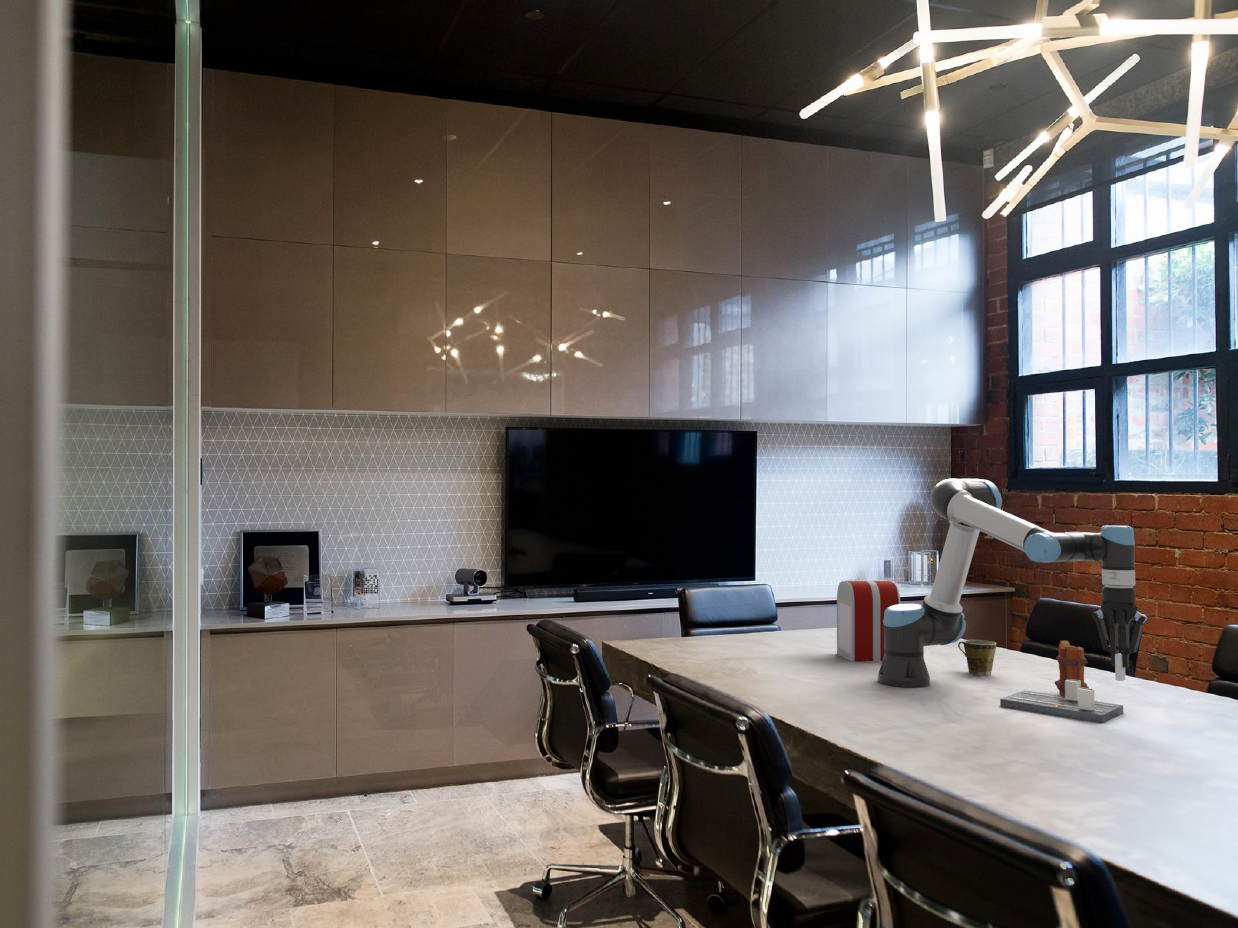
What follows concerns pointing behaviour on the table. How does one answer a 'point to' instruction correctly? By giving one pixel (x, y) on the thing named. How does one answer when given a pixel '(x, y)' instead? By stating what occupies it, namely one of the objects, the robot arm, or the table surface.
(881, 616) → the red striped block
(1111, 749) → the table surface
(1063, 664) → the mug
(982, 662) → the ceramic cup
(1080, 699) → the fader near
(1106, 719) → the console
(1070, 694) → the fader far
